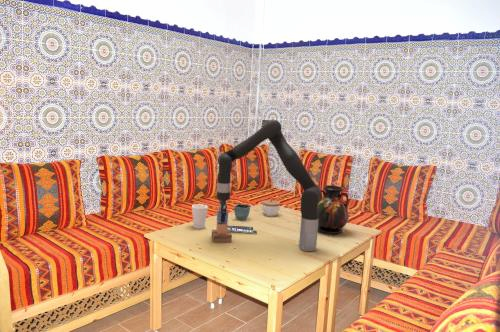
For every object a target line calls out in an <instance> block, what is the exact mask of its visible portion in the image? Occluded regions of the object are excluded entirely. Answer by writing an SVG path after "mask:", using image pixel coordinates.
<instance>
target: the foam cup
mask: <svg viewBox="0 0 500 332" xmlns="http://www.w3.org/2000/svg"><path fill="white" fill-rule="evenodd" d="M208 208H209V207H208V205H206V204H201V203H200V204H199V203H197V204H196V203H195V204H192V206H191V211H192V221H193V222H192V223H193V228H194V229H198V230H199V229H200V230H201V229H204V228H205V227H206V225H205V224H206V219H207V215H208V210H209V209H208Z"/></svg>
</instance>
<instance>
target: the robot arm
mask: <svg viewBox="0 0 500 332" xmlns="http://www.w3.org/2000/svg"><path fill="white" fill-rule="evenodd" d="M266 140H269V141H270V143H271V145H272V146H273V148H274V149H275V150H276V153H277V154H278V156H279V159H280V161H281V162H282V164H283V166H284V168H285V169H286V171H287V172H288V174H289V175H290V176H291V177H293V179H295V180H296V181H297V183H299V185H300V187H301V189H302V190H303V191H302V193H301V196H300V197H301V198H300V214H301V218H300V227H299V228H300V231H299V243H298V248H299V249H300V250H302V251H304V252H316V251H317V245H318V243H317V241H318V232H319V231H318V221H319V213H318V212H317V207H318V203H319V202H320V201H321V200H322V198H323V192H321V191H320V190H321V189H320V188H319V186H318V185H317V184H316V183H315V182H314V180H313V179H312V176H311V175H310V173H309V172H308V170H307V169H306V167H305V165H304V163H303V161H302V160H301V158H300V156H299V154H298V153H297V152H296V150H294V148H293V147H292V146H291V145H290V144H289V143H288V142H287V140H286V138H285V136H284V134H283V131H282V124H281V122H279V121H278V120H277V119H271V120H268V121H267V122H265V124H264V125H263V126H262V127H261V128H259V129H258V130H257V131H256V132H255V133H253V134H252V135H250V136H249V137H248V138H245V140H243V141H242V142H239V143H238V144H236V146H235V145H234V147H233V148H230V149H229V150H227V151H225V152H222V153H221V154H220V155H219V156H218V157H217V164H218V174H217V184H216V200H218V201H219V202H218V205H219V206H218V208H219V209H218V210H220V211H221V222H225V216H226V211H227V212H228V203H227V201H229V200H230V199H231V180H232V179H231V173H232V167H233V162H234V161H237V160H241V158H243V157H245V156H246V155H248V154H249V153H251V152H252V151H253V150H254V149H256V148H257V147H258V146H259V145H260V144H262V143H263V142H264V141H266ZM223 212H225V213H223Z"/></svg>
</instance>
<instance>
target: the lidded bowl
mask: <svg viewBox="0 0 500 332" xmlns="http://www.w3.org/2000/svg"><path fill="white" fill-rule="evenodd" d="M261 206H262V207H261V208H262V212H263V214H264V215H265V216H267V217H275V216H276V215H277V214H279V212H280V208H281V202H280V201H278V200H275V199H274V200H273V199H265V200H262V202H261Z"/></svg>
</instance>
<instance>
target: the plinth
mask: <svg viewBox="0 0 500 332" xmlns="http://www.w3.org/2000/svg"><path fill="white" fill-rule="evenodd" d="M232 235H233V234H232V233H231V230H230V229H227V234H217V232H216V229H211V239H212V244H213V243H214V244H215V243H218V244H219V243H232V239H233V238H232V237H233V236H232Z"/></svg>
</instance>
